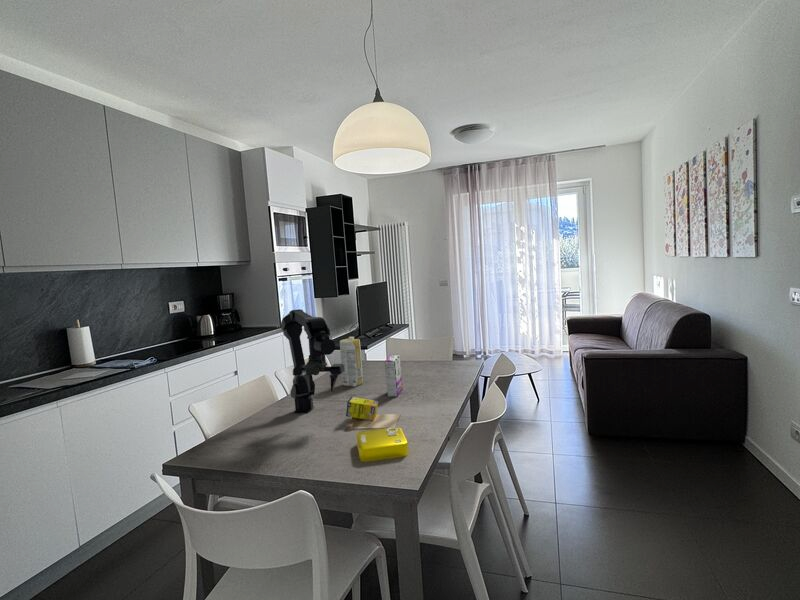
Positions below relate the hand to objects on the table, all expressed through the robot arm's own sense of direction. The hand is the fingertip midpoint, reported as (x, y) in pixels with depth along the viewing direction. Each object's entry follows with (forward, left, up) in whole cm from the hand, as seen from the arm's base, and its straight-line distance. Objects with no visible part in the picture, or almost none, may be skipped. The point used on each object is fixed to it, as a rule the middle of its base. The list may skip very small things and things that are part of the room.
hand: (320, 391), depth 164 cm
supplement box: (+9, +3, -7) cm, 12 cm away
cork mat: (+21, 0, -12) cm, 24 cm away
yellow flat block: (+28, -24, -13) cm, 39 cm away
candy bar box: (+22, +36, -12) cm, 44 cm away
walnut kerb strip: (+12, 0, -12) cm, 17 cm away
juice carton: (-2, +52, -12) cm, 53 cm away
